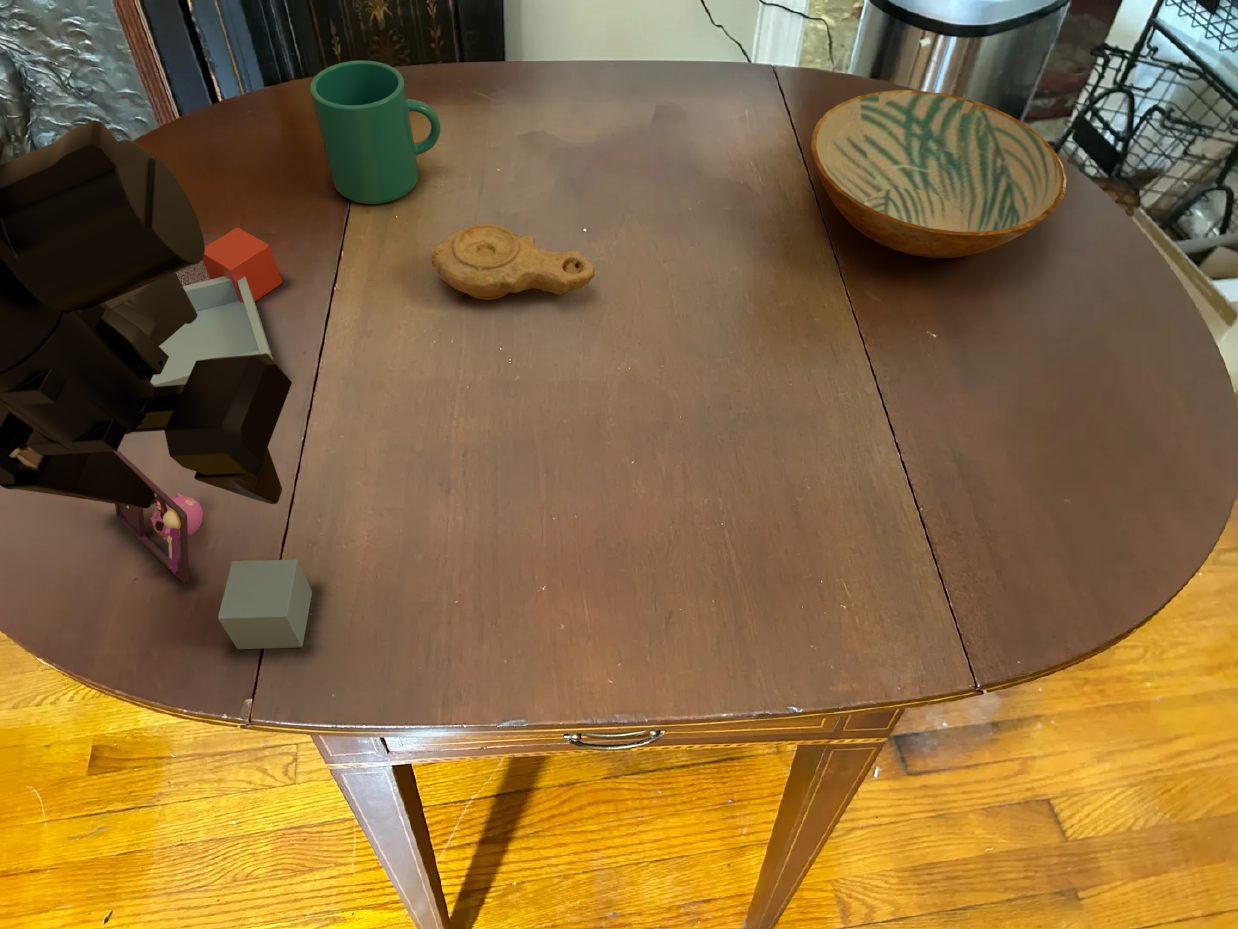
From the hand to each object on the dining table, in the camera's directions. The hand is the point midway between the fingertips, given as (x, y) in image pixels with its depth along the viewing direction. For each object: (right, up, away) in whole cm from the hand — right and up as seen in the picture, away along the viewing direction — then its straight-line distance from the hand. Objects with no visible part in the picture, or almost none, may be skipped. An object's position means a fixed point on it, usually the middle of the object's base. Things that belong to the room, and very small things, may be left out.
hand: (212, 499), depth 55 cm
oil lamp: (+14, +19, +33) cm, 41 cm away
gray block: (0, -9, +10) cm, 13 cm away
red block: (-11, +19, +32) cm, 39 cm away
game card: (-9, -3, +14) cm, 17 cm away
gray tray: (-14, +12, +26) cm, 31 cm away
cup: (0, +33, +43) cm, 54 cm away
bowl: (+56, +28, +42) cm, 75 cm away
